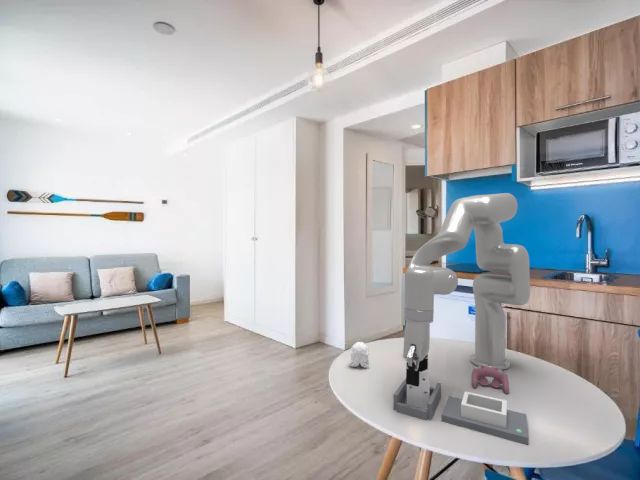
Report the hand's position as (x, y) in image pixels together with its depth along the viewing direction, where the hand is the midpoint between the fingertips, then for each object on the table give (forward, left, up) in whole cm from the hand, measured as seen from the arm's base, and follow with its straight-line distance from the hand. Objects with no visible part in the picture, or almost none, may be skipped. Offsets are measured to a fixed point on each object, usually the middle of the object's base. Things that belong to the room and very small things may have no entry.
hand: (417, 378), depth 89 cm
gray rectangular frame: (0, 0, -7) cm, 7 cm away
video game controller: (-21, +16, -7) cm, 28 cm away
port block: (0, +16, -7) cm, 18 cm away
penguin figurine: (-18, -24, -7) cm, 31 cm away
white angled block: (0, 0, -7) cm, 7 cm away
